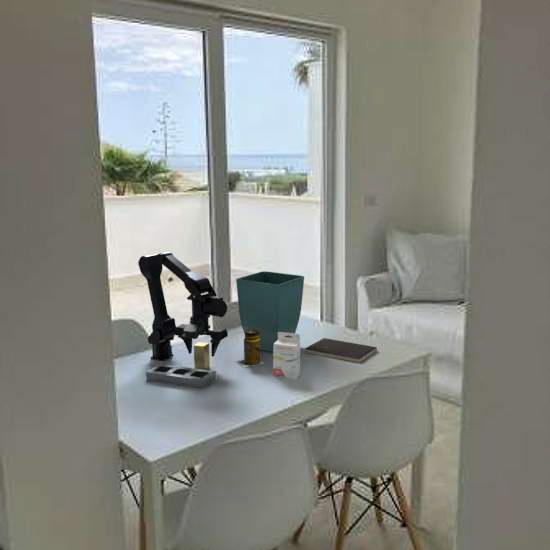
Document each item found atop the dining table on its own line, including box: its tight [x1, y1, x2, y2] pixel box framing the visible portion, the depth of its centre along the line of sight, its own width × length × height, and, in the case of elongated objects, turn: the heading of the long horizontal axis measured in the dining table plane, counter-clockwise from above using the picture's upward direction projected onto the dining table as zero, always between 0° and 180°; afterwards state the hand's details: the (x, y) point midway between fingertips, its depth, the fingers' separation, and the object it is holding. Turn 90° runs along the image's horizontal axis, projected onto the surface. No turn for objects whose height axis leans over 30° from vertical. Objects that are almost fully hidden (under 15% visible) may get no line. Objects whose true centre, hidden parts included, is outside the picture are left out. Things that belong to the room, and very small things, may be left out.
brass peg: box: [193, 341, 211, 370], centre depth 212 cm, size 4×4×9 cm
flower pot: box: [235, 270, 305, 353], centre depth 234 cm, size 20×20×28 cm
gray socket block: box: [145, 363, 217, 390], centre depth 201 cm, size 22×9×3 cm, turn 68°
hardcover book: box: [304, 337, 378, 363], centre depth 229 cm, size 16×23×2 cm
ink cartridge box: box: [272, 332, 301, 379], centre depth 204 cm, size 9×5×15 cm, turn 71°
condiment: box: [235, 330, 265, 368], centre depth 216 cm, size 7×8×12 cm
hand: (201, 355), depth 212 cm, fingers open, 9 cm apart
